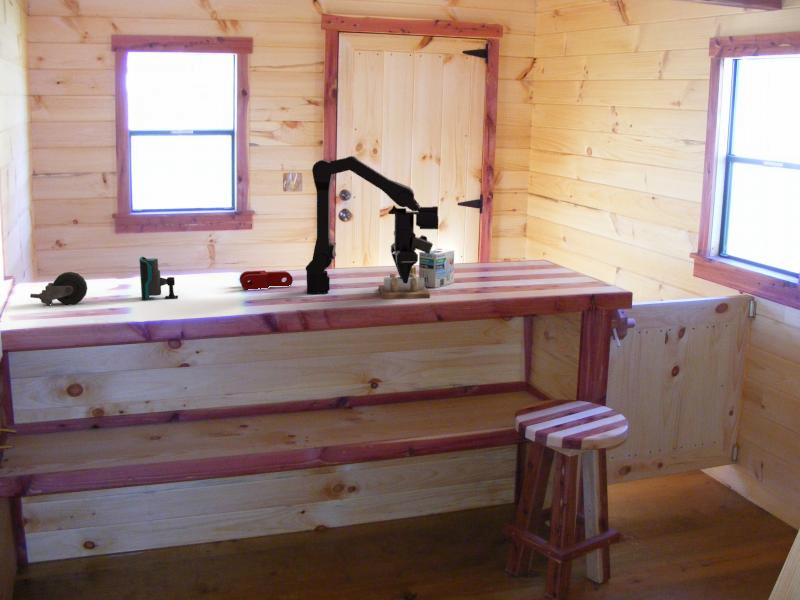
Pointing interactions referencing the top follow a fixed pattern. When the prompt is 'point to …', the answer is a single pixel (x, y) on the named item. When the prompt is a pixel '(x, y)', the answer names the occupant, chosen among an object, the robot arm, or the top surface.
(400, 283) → the grey rectangular block
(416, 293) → the peg board
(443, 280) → the light bulb box
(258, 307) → the top surface
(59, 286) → the caster wheel
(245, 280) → the mechanical linkage
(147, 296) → the surveillance camera
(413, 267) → the brass pin
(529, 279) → the top surface
